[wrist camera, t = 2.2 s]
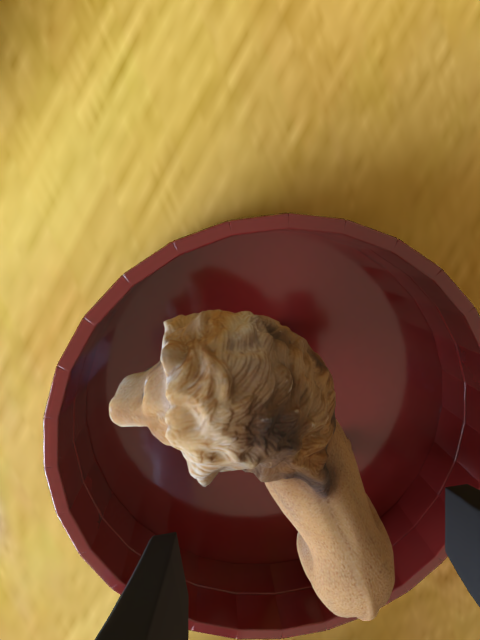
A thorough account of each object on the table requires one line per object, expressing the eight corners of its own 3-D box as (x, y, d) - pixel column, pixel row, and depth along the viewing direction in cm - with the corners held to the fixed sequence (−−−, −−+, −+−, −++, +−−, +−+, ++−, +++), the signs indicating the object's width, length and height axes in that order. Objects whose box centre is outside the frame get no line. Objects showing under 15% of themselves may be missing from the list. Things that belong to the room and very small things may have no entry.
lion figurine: (132, 325, 16) (38, 435, 7) (236, 248, 16) (271, 266, 7) (321, 554, 19) (415, 823, 10) (410, 495, 19) (585, 721, 10)
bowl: (449, 537, 20) (499, 599, 16) (118, 594, 19) (98, 673, 16) (449, 195, 16) (514, 184, 13) (34, 246, 15) (-17, 250, 12)
